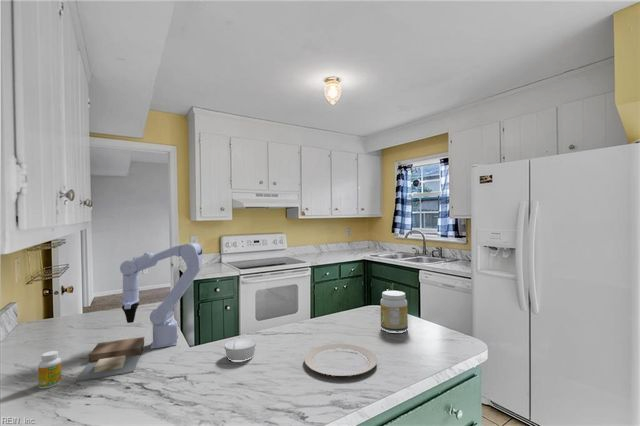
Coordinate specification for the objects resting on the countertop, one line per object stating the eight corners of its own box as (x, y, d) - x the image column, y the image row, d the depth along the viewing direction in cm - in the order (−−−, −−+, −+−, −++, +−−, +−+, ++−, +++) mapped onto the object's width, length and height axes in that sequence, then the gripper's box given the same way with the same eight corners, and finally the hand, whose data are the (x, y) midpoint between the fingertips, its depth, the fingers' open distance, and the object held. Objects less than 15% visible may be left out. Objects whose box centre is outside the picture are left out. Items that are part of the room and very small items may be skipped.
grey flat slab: (139, 355, 119) (139, 354, 119) (133, 372, 106) (133, 371, 106) (88, 363, 113) (88, 362, 113) (75, 381, 100) (75, 380, 100)
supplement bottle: (47, 390, 95) (47, 357, 96) (33, 388, 96) (33, 356, 97) (65, 381, 101) (65, 350, 101) (51, 379, 102) (52, 349, 102)
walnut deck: (144, 344, 130) (144, 336, 130) (139, 355, 119) (139, 347, 119) (98, 350, 124) (98, 343, 124) (89, 363, 113) (89, 354, 113)
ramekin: (218, 358, 116) (218, 343, 117) (244, 348, 125) (244, 335, 125) (235, 367, 109) (235, 352, 109) (261, 357, 117) (261, 342, 117)
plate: (338, 343, 129) (337, 338, 129) (391, 363, 111) (391, 357, 111) (289, 363, 111) (289, 358, 111) (343, 391, 93) (343, 384, 93)
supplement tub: (380, 325, 151) (379, 289, 151) (406, 326, 149) (405, 290, 149) (381, 334, 138) (380, 295, 139) (409, 335, 137) (409, 296, 137)
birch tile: (122, 362, 108) (122, 368, 108) (125, 355, 114) (125, 361, 114) (94, 366, 105) (94, 372, 105) (99, 359, 111) (99, 365, 111)
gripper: (123, 286, 135) (122, 318, 135) (115, 293, 122) (115, 329, 121) (141, 285, 138) (141, 316, 137) (136, 292, 124) (136, 326, 124)
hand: (130, 322), depth 130 cm, fingers closed
